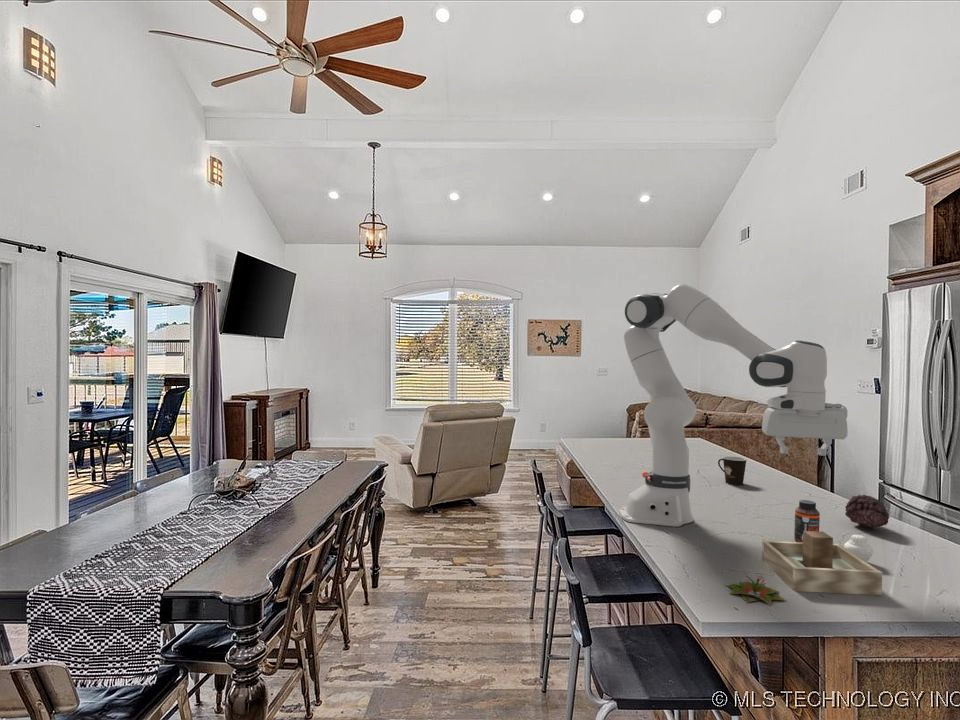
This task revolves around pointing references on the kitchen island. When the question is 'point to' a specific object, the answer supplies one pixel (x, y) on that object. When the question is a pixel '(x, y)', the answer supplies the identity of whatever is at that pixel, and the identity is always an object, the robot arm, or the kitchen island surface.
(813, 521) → the supplement bottle
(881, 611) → the kitchen island surface
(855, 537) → the white ribbed rounded lump
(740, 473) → the coffee mug
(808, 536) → the peg
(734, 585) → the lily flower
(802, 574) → the peg box
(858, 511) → the pine cone
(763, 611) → the kitchen island surface
